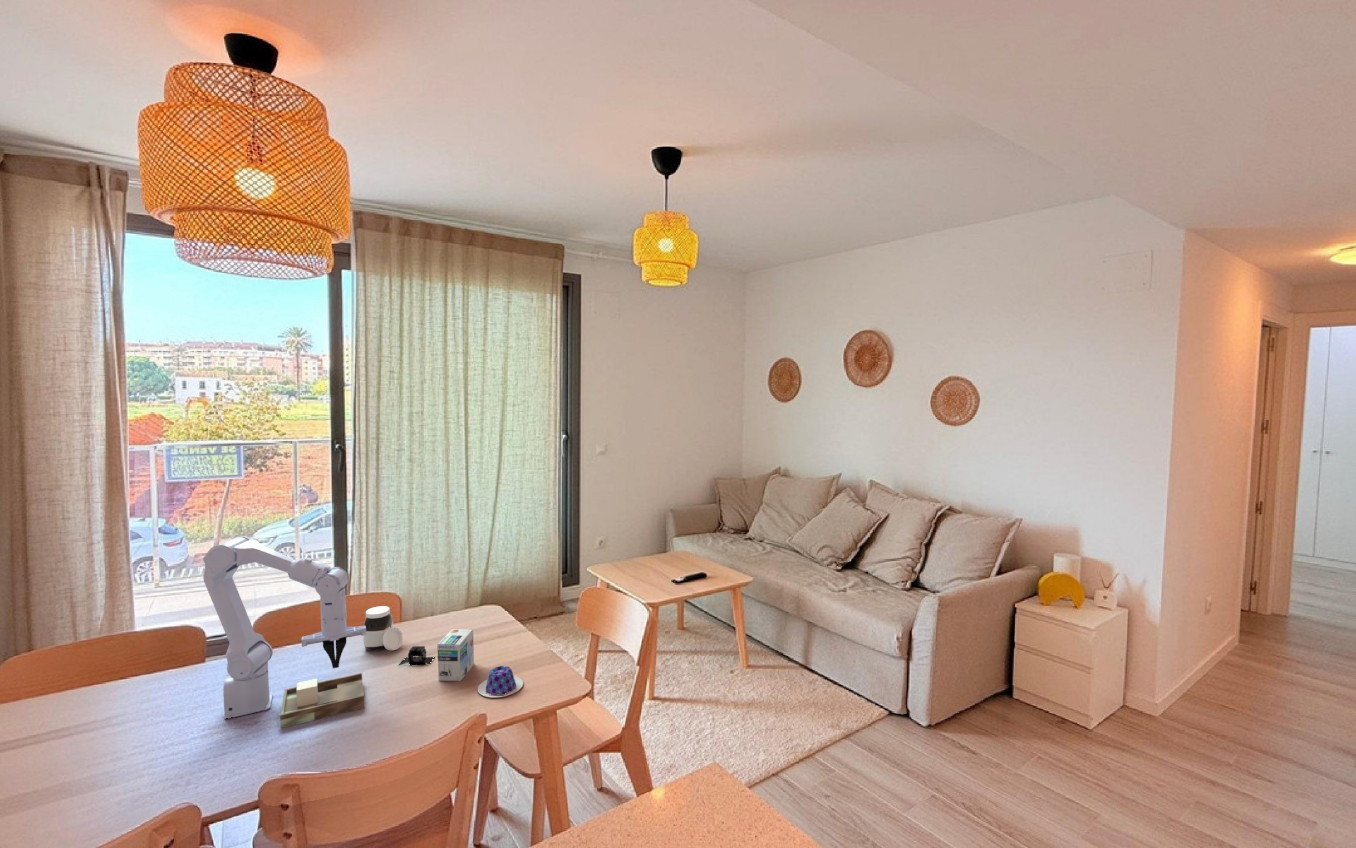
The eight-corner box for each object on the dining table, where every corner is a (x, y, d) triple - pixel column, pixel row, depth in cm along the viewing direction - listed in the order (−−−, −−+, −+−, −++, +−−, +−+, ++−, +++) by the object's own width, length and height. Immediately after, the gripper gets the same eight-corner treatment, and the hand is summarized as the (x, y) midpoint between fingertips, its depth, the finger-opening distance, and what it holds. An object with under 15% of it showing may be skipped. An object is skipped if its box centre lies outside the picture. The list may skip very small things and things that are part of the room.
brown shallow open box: (280, 728, 145) (280, 715, 144) (285, 701, 157) (284, 689, 157) (364, 708, 154) (363, 696, 153) (362, 684, 166) (361, 672, 165)
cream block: (297, 707, 150) (296, 690, 150) (298, 699, 154) (297, 682, 154) (317, 702, 152) (316, 686, 152) (318, 694, 156) (317, 678, 156)
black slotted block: (391, 669, 176) (390, 654, 175) (401, 657, 183) (401, 643, 182) (434, 668, 176) (433, 653, 176) (442, 656, 183) (442, 642, 183)
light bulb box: (461, 681, 167) (460, 644, 166) (437, 681, 167) (436, 644, 166) (474, 663, 178) (474, 628, 177) (452, 663, 178) (451, 628, 177)
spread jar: (371, 640, 194) (369, 605, 193) (408, 637, 196) (407, 602, 195) (358, 656, 182) (357, 619, 181) (398, 653, 184) (396, 617, 183)
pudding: (487, 677, 170) (487, 659, 170) (528, 678, 170) (528, 660, 169) (470, 699, 158) (470, 680, 158) (515, 700, 158) (514, 681, 157)
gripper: (300, 627, 148) (302, 679, 149) (365, 616, 155) (367, 666, 156) (301, 617, 154) (303, 668, 155) (364, 607, 162) (366, 655, 163)
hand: (335, 666), depth 156 cm, fingers closed
